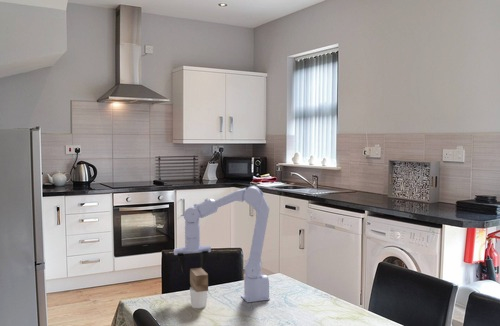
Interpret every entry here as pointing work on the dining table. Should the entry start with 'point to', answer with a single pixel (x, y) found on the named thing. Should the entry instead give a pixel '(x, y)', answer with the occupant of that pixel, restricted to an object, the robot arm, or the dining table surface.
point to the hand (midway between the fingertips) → (192, 271)
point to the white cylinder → (198, 298)
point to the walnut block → (198, 279)
